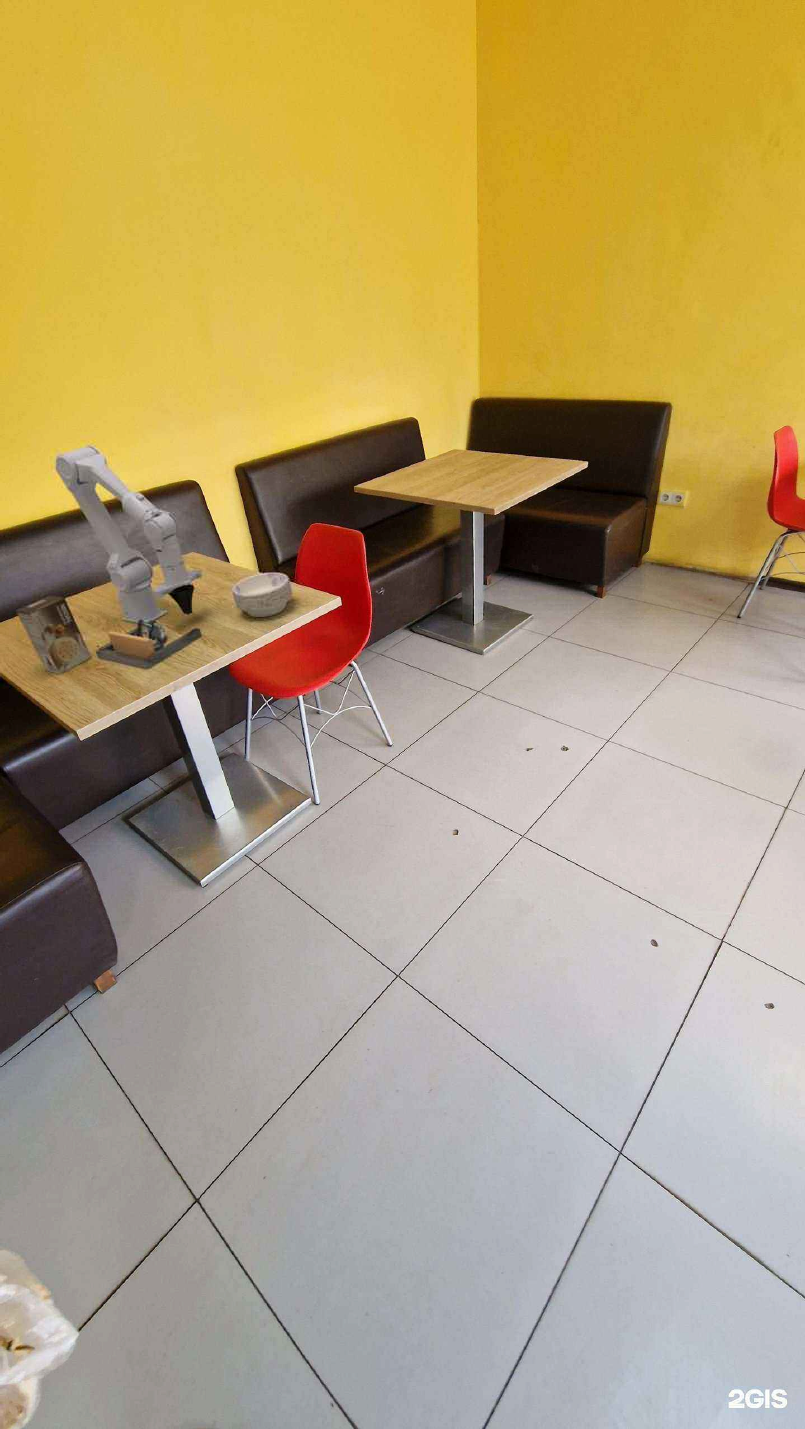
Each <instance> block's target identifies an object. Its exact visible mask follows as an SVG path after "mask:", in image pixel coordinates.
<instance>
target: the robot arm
mask: <svg viewBox="0 0 805 1429" xmlns="http://www.w3.org/2000/svg"><path fill="white" fill-rule="evenodd" d="M107 462H108V461H107V458H106V457H105V455H104V454H102V453H101V451H99V449H98V448H96V447H95V446H93V445H87V446H85V447H82V448H78V449H75V450H71V451H68V452H64V453H59V454H57V455H56V458H55V471H56V472H57V474H58V476H59V477H60V479H61V480H62V482H63V484H64V485H65V487H66V489H67V490H68V492H70V493H71V495H72V496H73V498H74V501H76V503H77V505H78V506H79V507H80V510H81V511H82V513H83V514H84V516H85V518H86V519H87V521H88V522H89V524H90V526H91V528H92V529H93V531H94V532H95V534H96V536H97V537H98V539H99V541H100V542H101V544H102V545H103V548H104V549H105V550H106V552H107V553H108V555H109V559H108V563H107V564H106V567H105V568H106V570H107V572H108V574H109V576H110V580H111V583H112V584H113V586H114V587H115V588H116V589H117V590H118V591H117V598H118V602H119V603H120V607H121V609H122V612H123V615H124V617H123V618H122V620H123V621H125V622H132V623H136V624H138V621H139V620H142V621H145V622H148V621H150V620H155V621H156V619H159V618H160V617H162V616H164V615H166V614H167V613H168V610H164V609H160V608H159V604H158V601H157V599H162V598H164V597H165V596H166V595H168V596H170V597H171V598H172V599H173V601H174V602H175V603H176V604H177V606H178V607H179V609H180V610H181V611H182V613H183V614H185V615H190V614H192V613H193V596H194V590H195V586H194V584H192V582H193V581H195V580H197V579H201V578H203V575H202V574H203V573H202V571H201V570H200V569H193V570H191V571H187V568H186V565H185V561H184V558H183V554H182V551H181V548H180V545H179V541H178V538H177V533H178V532H179V523H178V520H177V519H176V518H175V516H173V514H172V513H170V512H169V511H163V510H162V509H159V508H157V507H156V506H155V505H154V504H153V503H152V502H151V501H150V500H148V499H147V498H146V497H145V495H143V494H142V493H141V492H140V491H139V492H138V491H132V490H131V489H130V488H129V487H128V486H127V485H126V484H125V483H124V482H123V481H122V480H121V479H120V478H119V477H118V475H116V473H115V472H113V470H112V469H111V468H110V467H109V466H108V463H107ZM97 484H98V485H100V486H101V487H103V489H105V490H106V491H108V492H109V493H110V494H112V495H113V496H114V497H115V498H117V499H118V500H119V501H120V502H121V504H122V509H123V511H124V512H126V514H128V515H129V516H130V517H131V518H132V519H133V520H134V521H135V522H136V523H138V525H140V526H141V527H142V528H143V531H142V532H143V534H144V536H145V537H146V539H147V540H148V541H149V543H150V546H151V547H152V548H153V550H155V554H156V556H157V560H158V563H159V565H160V569H161V571H162V574H163V578H164V580H165V581H164V582H163V583H162V584H161V585H159V586H158V587H157V588H155V589H154V590H153V586H152V584H151V583H152V582H153V581H152V578H153V576H154V568H153V566H152V564H151V562H149V560H147V559H146V558H145V557H144V555H143V554H142V552H141V551H139V550H136V549H134V548H131V547H130V546H129V544H127V542H126V540H125V538H124V537H123V535H122V533H121V531H120V530H119V528H118V527H117V524H116V523H115V522H114V520H113V518H112V516H111V515H110V513H109V511H108V509H107V507H106V506H105V504H104V503H103V501H102V500H101V498H100V496H99V494H98V493H97V491H96V487H97ZM126 562H127V563H126ZM124 563H125V564H124ZM156 598H157V599H156Z"/></svg>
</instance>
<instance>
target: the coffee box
mask: <svg viewBox="0 0 805 1429" xmlns="http://www.w3.org/2000/svg"><path fill="white" fill-rule="evenodd" d="M15 612H16V614H17V615H18V618H19V620H20V621H21V623H22V626H23V628H24V631H25V632H26V634H27V635H28V636H27V637H28V638H29V640H30V642H31V644H32V646H33V648H34V650H35V652H36V653H37V656H38V658H39V660H40V663H41V664H42V666H43V668H44V670H45V671H48V672H51V673H54V674H57V675H61V674H63V673H66V672H67V671H68V670H70V669H73V668H74V667H76V666H78V665H80V664H82V663H83V662H85V661H87V660H89V659H92V656H91V653H90V651H89V649H88V647H87V644H86V642H85V640H84V638H83V636H82V634H81V632H80V629H79V627H78V624H77V623H76V620H75V617H74V616H73V614H72V611H71V609H70V607H69V604H68V602H67V600H66V598H64V597H61V596H55V595H48V596H46V597H44V598H41V599H39V600H35V601H34V602H32V603H29V604H27V605H24V606H23V607H20V608H18V609H16V610H15Z"/></svg>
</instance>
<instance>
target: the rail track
mask: <svg viewBox="0 0 805 1429" xmlns="http://www.w3.org/2000/svg"><path fill="white" fill-rule="evenodd" d="M150 621H151V622H150ZM150 621H148V622H146V623H148V624H151V625H152V622H154V621H156V619H155V620H150ZM137 628H138V626H137V627H136V628H133V629H132V630H130V631H128V632H126V633H125V634H128V635H134V633H135V632H136V631H137ZM202 634H203V633H202V631H201V628H199V627H198V628H197V627H195V628H194V629H192V630H190V631H188V632H187V633H185V634H183V635H182V636H180V637H178V638H177V639H175V640H173V641H171V642H170V643H168V644H167V645H165V646H163V648H161V649H160V650H155V653H153V654H151V655H150V656H148V657H146V658H143V657H138V656H134V655H130V654H125V653H121V652H116V651H115V650H114V648H113V645H112V643H111V641H110V642H108V643H106V644H104V645H103V646H101V647H98V649H97V650H95V653H96V656H97V658H98V659H103V660H107V661H111V662H114V663H115V662H116V663H119V664H122V665H123V664H124V665H128V666H130V667H131V666H132V667H136V668H139V669H144V670H149V669H151V668H153V667H154V666H155V665H157V664H159V663H161V662H162V661H164V660H166V659H167V658H169V657H170V656H172V655H173V654H175V653H177V652H178V651H180V650H181V649H183V648H185V647H186V646H188V645H190V644H192V643H193V642H194V641H196V640H198V639H200V638H202V636H203V635H202Z"/></svg>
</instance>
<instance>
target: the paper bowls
mask: <svg viewBox="0 0 805 1429" xmlns="http://www.w3.org/2000/svg"><path fill="white" fill-rule="evenodd" d="M231 593H232V595H233V600H234V602H235V605H236V607H237V608H238V610H241V611H244V612H246V613H247V614H248V615H249V616H251V617H255V618H265V617H270V616H274V615H276V614H279V613H280V612H282V611H283V610H285V608H286V606H287V602H289V601H290V599H291V598H292V597H293V590H292V586H291V581H290V578H289V576H288V575H286V574H284V573H281V572H264V573H258V574H254V575H251V576H248V577H247V576H246V577H245V578H242V579H241V580H239V581H238V582H236V583H235V584H234V585H233V586H232V588H231Z"/></svg>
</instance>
